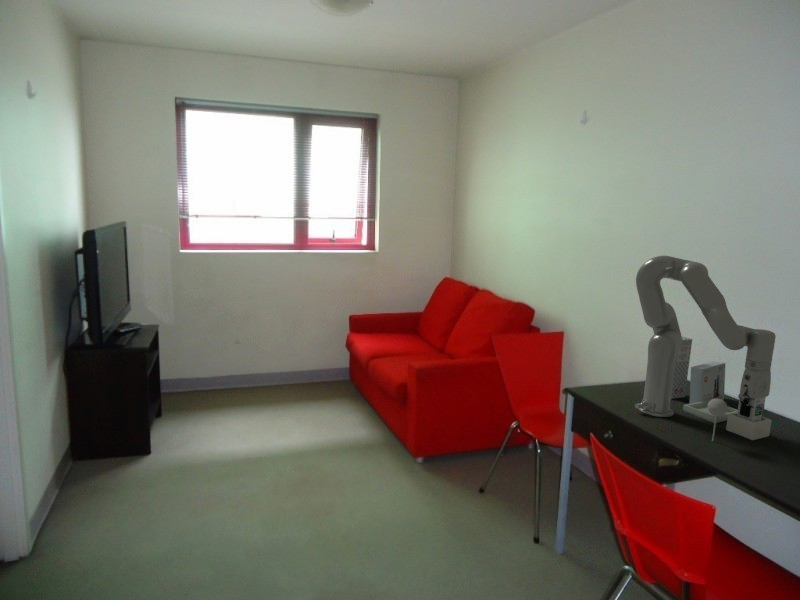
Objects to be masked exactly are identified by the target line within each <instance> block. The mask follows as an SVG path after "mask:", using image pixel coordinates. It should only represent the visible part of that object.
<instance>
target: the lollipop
mask: <svg viewBox="0 0 800 600" xmlns="http://www.w3.org/2000/svg"><path fill="white" fill-rule="evenodd" d="M727 406H728V404H727V402H726V401H724V399H723V400H722V399H717V398H716V399H712V400H710V401H709V403H708V410H709V412H710V413H711V414H712V415H714V416H715V423H713V431H712V439H711V442H714V439H715V433H716V428H717V427H716V426H717V423H716V420H717V416H722V415H724V414H725V413H726V412H727V410H728V407H727Z"/></svg>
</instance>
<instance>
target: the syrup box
mask: <svg viewBox="0 0 800 600" xmlns="http://www.w3.org/2000/svg"><path fill="white" fill-rule="evenodd" d="M745 396H748V397H749V395H747V394H746V395H745ZM766 398H767V397H763V398H758V399H752V401H751V404H750V406H751V410H750V416H749V417H746V416H743V415H740V407H741V404H740V399H739V398H738V399H739V400H738V407H737V410H738V413H737V416H738V417H741V418H744V419H746V420H749V421H752V422H757V421H762V419H763V417H764V411H765V404H766ZM745 399H746V400H747V401H748V398H745Z"/></svg>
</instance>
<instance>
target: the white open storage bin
mask: <svg viewBox="0 0 800 600" xmlns="http://www.w3.org/2000/svg"><path fill="white" fill-rule="evenodd" d="M737 413H738V412H735V413H730V414H728V419H727V421H726V427H725V430H726V431H728V432H731V433H733V434H736V435H738V436H741V437H743V438H746V439H748V440H751V441H755V440H759V439H762V438H763V439H764V438H767V437H769V436H770V435H771V434H770V433H771V427H772V422H773V420H772V419H770V418H768V417H765V416H763V419H762V421H757V422H752V421H749V420H746V419H744V418H741V417H738V416H737Z"/></svg>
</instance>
